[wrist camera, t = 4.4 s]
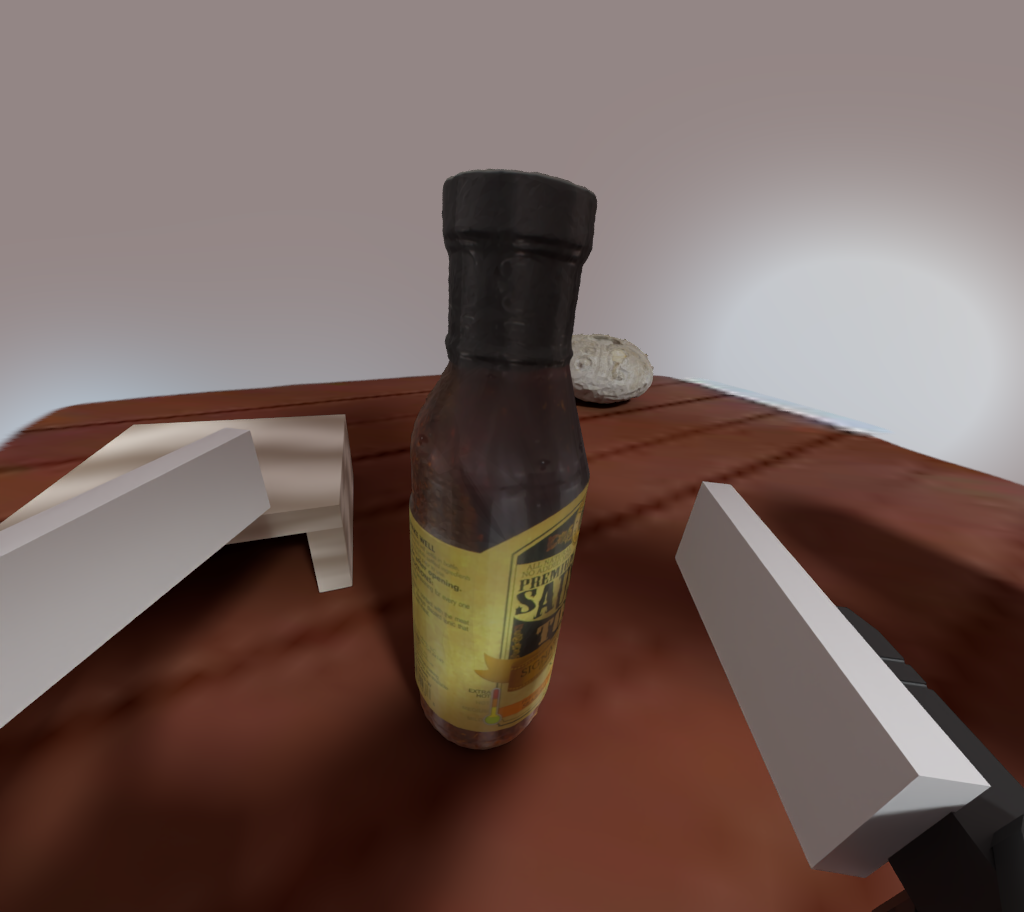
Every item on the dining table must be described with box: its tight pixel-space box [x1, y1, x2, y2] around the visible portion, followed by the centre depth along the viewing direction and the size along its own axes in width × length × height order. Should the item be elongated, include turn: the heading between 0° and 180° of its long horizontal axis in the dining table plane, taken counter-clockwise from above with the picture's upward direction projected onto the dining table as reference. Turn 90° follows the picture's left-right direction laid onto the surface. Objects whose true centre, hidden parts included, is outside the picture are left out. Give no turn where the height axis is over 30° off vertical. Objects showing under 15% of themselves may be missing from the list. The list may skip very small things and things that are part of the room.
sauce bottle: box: [409, 169, 597, 750], centre depth 13 cm, size 6×6×20 cm
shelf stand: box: [0, 414, 353, 592], centre depth 24 cm, size 14×14×6 cm
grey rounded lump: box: [570, 334, 653, 404], centre depth 61 cm, size 18×18×10 cm
